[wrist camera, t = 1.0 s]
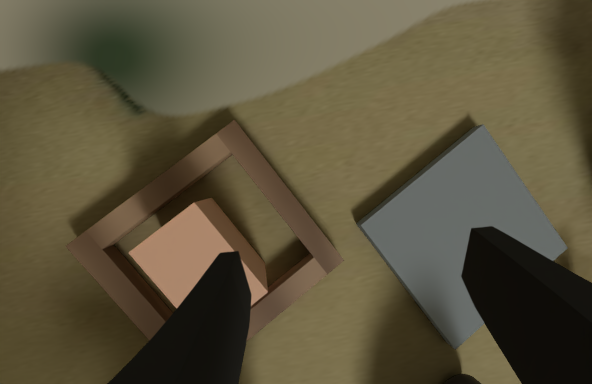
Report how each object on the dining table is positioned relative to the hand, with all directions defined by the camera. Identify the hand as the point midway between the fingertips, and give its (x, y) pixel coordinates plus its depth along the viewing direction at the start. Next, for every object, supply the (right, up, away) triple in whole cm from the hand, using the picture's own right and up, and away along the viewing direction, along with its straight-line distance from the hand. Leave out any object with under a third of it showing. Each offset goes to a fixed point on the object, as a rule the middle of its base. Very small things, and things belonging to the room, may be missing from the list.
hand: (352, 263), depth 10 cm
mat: (+11, -1, +14) cm, 18 cm away
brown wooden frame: (-7, -2, +12) cm, 14 cm away
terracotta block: (-7, -2, +12) cm, 14 cm away
